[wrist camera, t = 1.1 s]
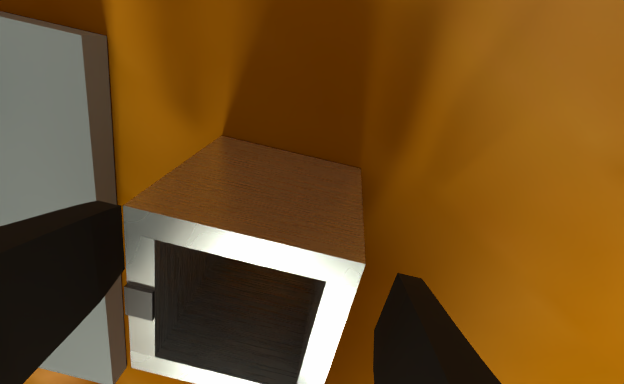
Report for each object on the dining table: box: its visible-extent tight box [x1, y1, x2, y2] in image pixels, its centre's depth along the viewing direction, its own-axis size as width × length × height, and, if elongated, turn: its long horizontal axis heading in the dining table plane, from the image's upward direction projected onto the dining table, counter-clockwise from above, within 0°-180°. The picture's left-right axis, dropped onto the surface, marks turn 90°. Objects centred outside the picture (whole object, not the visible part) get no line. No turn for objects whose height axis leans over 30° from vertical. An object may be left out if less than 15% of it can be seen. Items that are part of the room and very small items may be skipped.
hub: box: [123, 136, 366, 384], centre depth 9 cm, size 5×5×5 cm
